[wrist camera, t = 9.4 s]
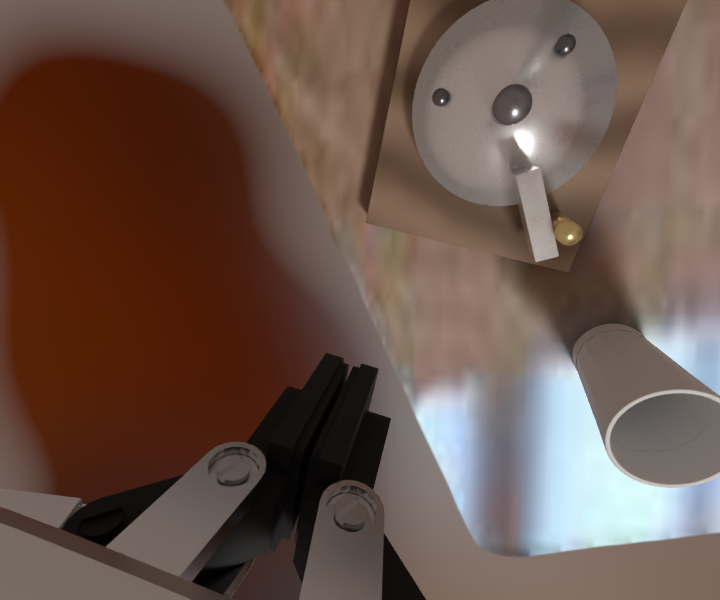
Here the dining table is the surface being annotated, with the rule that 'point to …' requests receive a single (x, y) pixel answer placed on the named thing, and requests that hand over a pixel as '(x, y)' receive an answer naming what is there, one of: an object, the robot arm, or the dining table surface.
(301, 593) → the robot arm
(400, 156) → the base board
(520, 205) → the flange plate
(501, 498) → the dining table surface
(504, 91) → the post and dowel
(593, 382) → the cup
